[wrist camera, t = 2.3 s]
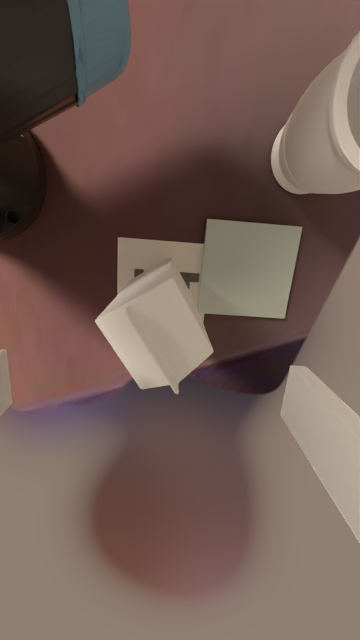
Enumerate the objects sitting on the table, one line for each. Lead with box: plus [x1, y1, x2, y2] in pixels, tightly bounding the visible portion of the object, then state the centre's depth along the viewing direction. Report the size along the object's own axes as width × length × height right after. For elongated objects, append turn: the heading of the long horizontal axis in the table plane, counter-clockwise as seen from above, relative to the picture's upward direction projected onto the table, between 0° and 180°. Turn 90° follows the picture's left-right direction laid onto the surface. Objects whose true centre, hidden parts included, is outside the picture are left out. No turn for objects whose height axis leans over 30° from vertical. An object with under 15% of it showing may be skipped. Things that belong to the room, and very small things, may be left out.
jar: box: [271, 31, 360, 194], centre depth 25 cm, size 11×10×15 cm
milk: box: [95, 257, 213, 394], centre depth 26 cm, size 6×6×22 cm
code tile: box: [117, 237, 204, 322], centre depth 37 cm, size 12×12×1 cm
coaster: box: [198, 219, 302, 319], centre depth 36 cm, size 12×12×1 cm
